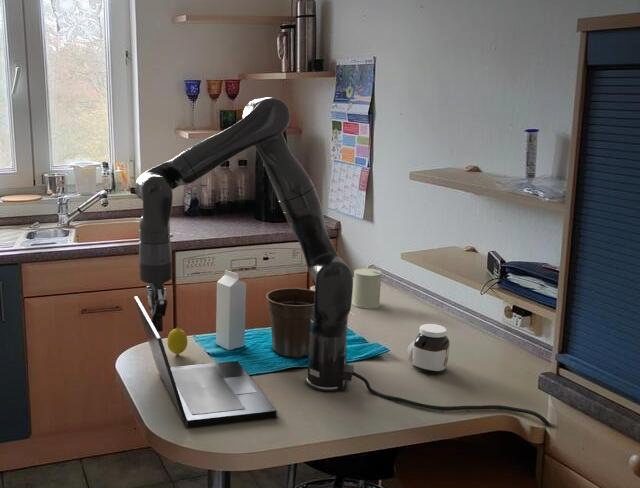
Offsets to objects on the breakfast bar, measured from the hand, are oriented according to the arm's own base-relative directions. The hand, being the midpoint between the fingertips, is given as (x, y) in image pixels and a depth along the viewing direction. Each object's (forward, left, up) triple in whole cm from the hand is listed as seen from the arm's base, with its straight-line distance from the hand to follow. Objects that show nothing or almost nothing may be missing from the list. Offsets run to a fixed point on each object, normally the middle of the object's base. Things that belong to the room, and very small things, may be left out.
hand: (157, 330), depth 173 cm
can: (-41, -91, -18) cm, 102 cm away
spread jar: (-61, -42, -18) cm, 77 cm away
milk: (-7, -40, -18) cm, 45 cm away
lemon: (+5, -28, -18) cm, 34 cm away
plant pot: (-25, -42, -18) cm, 53 cm away
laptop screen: (-1, 0, -6) cm, 6 cm away
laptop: (-12, -7, -18) cm, 23 cm away
